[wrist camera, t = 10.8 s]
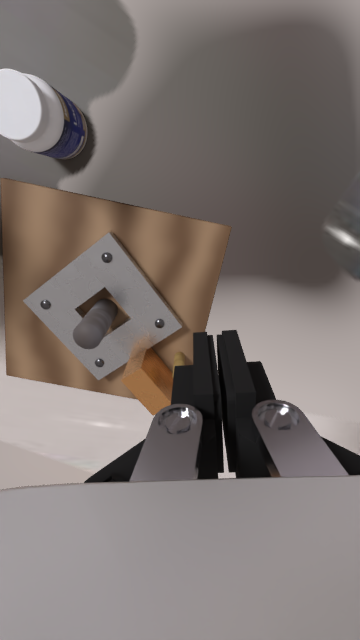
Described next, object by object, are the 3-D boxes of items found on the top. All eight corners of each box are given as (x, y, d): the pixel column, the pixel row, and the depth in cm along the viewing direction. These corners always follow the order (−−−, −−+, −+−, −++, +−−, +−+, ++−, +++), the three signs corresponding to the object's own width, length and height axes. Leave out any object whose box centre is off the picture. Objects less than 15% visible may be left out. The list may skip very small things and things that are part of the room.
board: (230, 226, 36) (241, 237, 28) (185, 402, 46) (183, 449, 38) (6, 178, 35) (-52, 175, 26) (11, 370, 45) (-30, 411, 37)
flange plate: (27, 297, 39) (0, 315, 33) (111, 231, 35) (96, 238, 30) (128, 404, 45) (118, 434, 39) (208, 356, 41) (210, 383, 36)
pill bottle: (99, 125, 32) (62, 100, 23) (70, 171, 34) (26, 165, 25) (52, 83, 31) (-6, 38, 22) (25, 133, 33) (-39, 111, 24)
